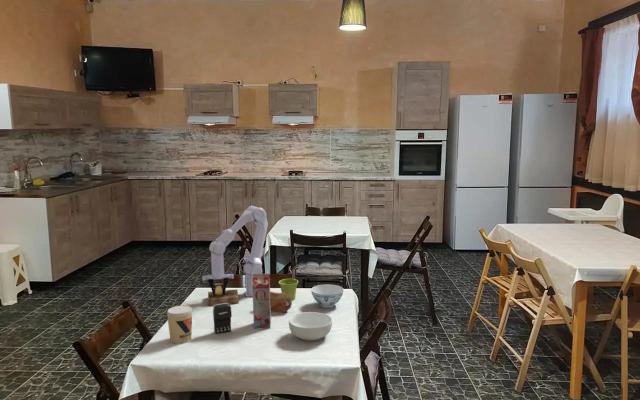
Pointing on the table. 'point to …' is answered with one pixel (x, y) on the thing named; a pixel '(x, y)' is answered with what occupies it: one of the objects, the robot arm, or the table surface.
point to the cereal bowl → (310, 325)
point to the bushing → (218, 290)
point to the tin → (280, 302)
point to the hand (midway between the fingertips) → (218, 293)
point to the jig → (223, 298)
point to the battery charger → (222, 318)
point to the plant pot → (289, 287)
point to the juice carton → (261, 301)
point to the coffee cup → (180, 324)
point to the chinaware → (327, 294)
